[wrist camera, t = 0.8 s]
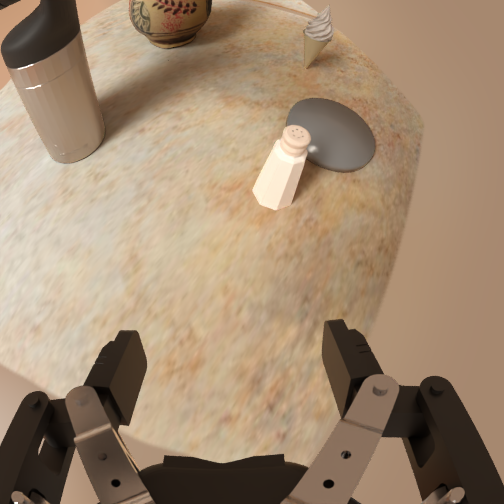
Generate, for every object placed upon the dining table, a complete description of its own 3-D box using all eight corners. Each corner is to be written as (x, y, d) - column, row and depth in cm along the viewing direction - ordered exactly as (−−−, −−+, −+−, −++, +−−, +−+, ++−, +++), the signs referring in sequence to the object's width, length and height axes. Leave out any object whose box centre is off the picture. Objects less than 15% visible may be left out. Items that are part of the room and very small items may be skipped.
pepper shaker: (250, 173, 38) (267, 112, 28) (291, 175, 39) (318, 117, 29) (253, 210, 37) (273, 153, 26) (297, 211, 38) (329, 157, 27)
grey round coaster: (270, 109, 43) (272, 102, 42) (341, 101, 47) (344, 95, 46) (313, 181, 40) (317, 175, 38) (386, 164, 43) (390, 158, 42)
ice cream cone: (302, 77, 48) (326, 9, 34) (287, 62, 49) (307, -3, 35) (323, 74, 49) (349, 11, 36) (308, 60, 51) (330, -2, 37)
